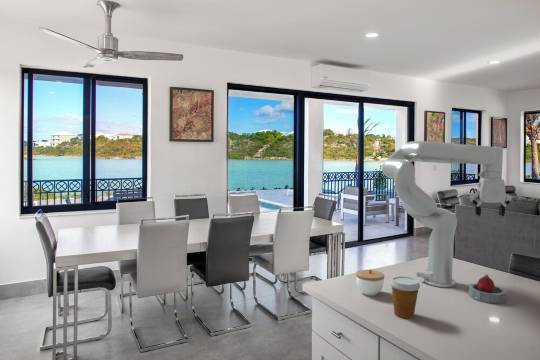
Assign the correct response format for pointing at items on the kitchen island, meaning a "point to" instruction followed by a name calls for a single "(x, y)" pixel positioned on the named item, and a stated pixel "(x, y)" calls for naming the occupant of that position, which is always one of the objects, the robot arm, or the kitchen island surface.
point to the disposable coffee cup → (404, 296)
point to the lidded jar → (369, 281)
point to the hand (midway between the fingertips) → (489, 215)
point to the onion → (486, 284)
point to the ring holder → (487, 295)
